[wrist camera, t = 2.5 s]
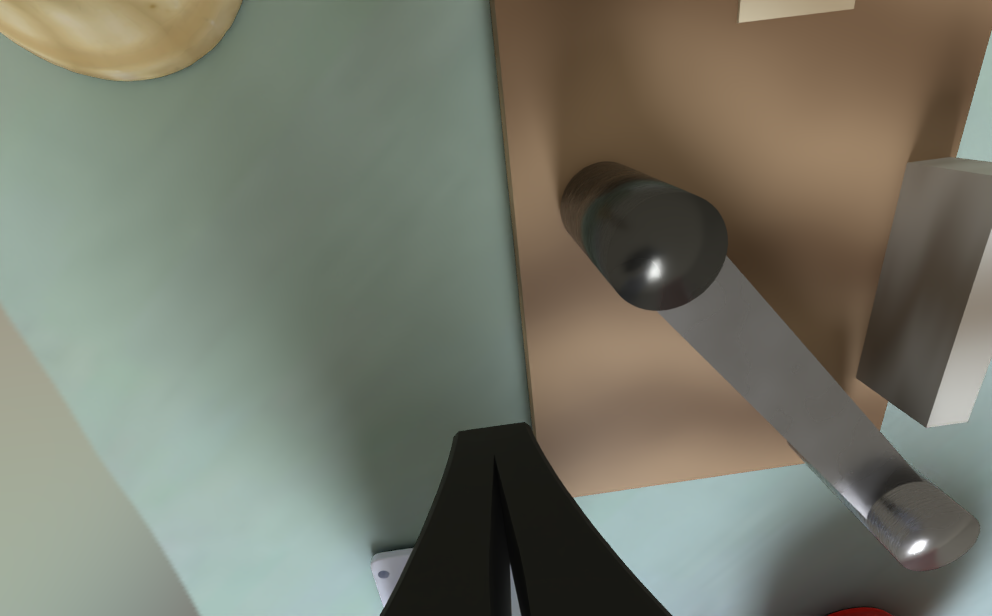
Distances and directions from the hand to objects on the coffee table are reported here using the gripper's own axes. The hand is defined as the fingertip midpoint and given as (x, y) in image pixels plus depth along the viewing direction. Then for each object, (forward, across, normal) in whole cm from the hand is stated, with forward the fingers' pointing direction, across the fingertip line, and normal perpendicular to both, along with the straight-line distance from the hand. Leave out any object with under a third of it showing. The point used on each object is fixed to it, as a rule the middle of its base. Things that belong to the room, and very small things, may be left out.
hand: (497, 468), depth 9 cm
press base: (+9, -8, 0) cm, 12 cm away
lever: (+7, -8, +2) cm, 11 cm away
